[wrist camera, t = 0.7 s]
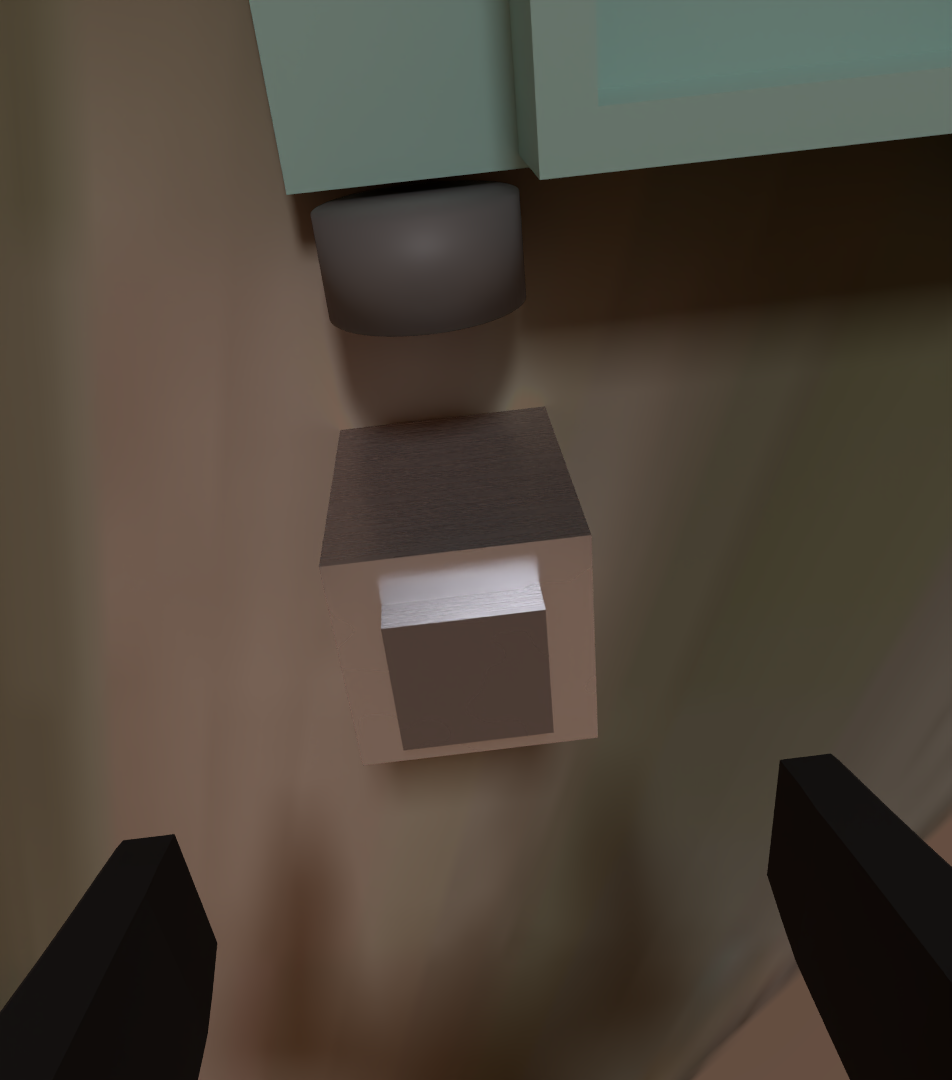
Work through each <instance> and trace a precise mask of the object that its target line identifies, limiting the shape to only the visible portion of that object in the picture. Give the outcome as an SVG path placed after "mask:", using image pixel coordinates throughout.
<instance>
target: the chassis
mask: <svg viewBox="0 0 952 1080" xmlns="http://www.w3.org/2000/svg"><path fill="white" fill-rule="evenodd" d="M249 3H250V8H251V13H252V18H253V23H254V28H255V34H256V39H257V44H258V49H259V54H260V59H261V65H262V70H263V75H264V80H265V85H266V90H267V96H268V101H269V106H270V111H271V116H272V121H273V127H274V132H275V137H276V142H277V147H278V152H279V158H280V163H281V168H282V173H283V178H284V183H285V189H286V194H287V195H289V194H298V193H307V192H316V191H325V190H334V189H343V188H352V187H360V186H369V185H378V184H387V183H396V182H405V181H414V180H423V179H431V178H440V177H449V176H458V175H467V174H476V173H485V172H493V171H502V170H511V169H520V168H530V169H531V170H532V171H533V172H534V174H535V175H536V176H537V177H538V178H539V180H544V179H553V178H562V177H571V176H579V175H588V174H597V173H606V172H615V171H624V170H633V169H641V168H650V167H659V166H668V165H677V164H686V163H695V162H703V161H712V160H721V159H730V158H739V157H748V156H757V155H765V154H774V153H783V152H792V151H801V150H810V149H819V148H827V147H836V146H845V145H854V144H863V143H872V142H881V141H889V140H898V139H907V138H916V137H925V136H934V135H942V134H951V133H952V0H249ZM311 220H312V225H313V231H314V236H315V242H316V247H317V253H318V258H319V264H320V269H321V275H322V280H323V286H324V291H325V297H326V302H327V308H328V313H329V319H330V321H331V323H332V324H333V325H334V326H336V327H338V328H339V329H342V330H345V331H348V332H352V333H356V334H362V335H370V336H387V337H395V336H418V335H429V334H437V333H444V332H450V331H455V330H460V329H465V328H469V327H473V326H477V325H481V324H484V323H487V322H490V321H493V320H496V319H498V318H501V317H503V316H505V315H507V314H509V313H511V312H513V311H514V310H516V309H517V308H519V307H520V306H521V305H522V304H523V303H524V301H525V299H526V287H525V272H524V257H523V241H522V226H521V211H520V196H519V189H518V188H517V187H516V186H513V185H511V184H507V183H502V182H494V181H475V180H463V181H440V182H427V183H417V184H408V185H400V186H394V187H387V188H381V189H375V190H370V191H365V192H361V193H356V194H352V195H348V196H344V197H341V198H338V199H335V200H332V201H329V202H326V203H324V204H322V205H320V206H318V207H316V208H315V209H313V210H312V212H311Z"/></svg>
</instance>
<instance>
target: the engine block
mask: <svg viewBox="0 0 952 1080" xmlns="http://www.w3.org/2000/svg"><path fill="white" fill-rule="evenodd" d="M319 570H320V574H321V579H322V583H323V588H324V592H325V597H326V601H327V606H328V610H329V615H330V619H331V624H332V628H333V633H334V637H335V642H336V646H337V651H338V655H339V660H340V664H341V669H342V674H343V678H344V683H345V687H346V692H347V696H348V701H349V705H350V710H351V714H352V719H353V723H354V728H355V732H356V737H357V741H358V746H359V750H360V755H361V759H362V764H363V766H364V765H372V764H380V763H389V762H397V761H405V760H414V759H422V758H430V757H439V756H447V755H455V754H464V753H472V752H480V751H489V750H497V749H505V748H514V747H522V746H530V745H539V744H547V743H555V742H564V741H572V740H580V739H589V738H597V737H598V726H597V695H596V663H595V632H594V601H593V569H592V538H591V533H590V530H589V527H588V524H587V521H586V519H585V516H584V513H583V510H582V508H581V505H580V502H579V499H578V496H577V494H576V491H575V488H574V485H573V483H572V480H571V477H570V474H569V472H568V469H567V466H566V463H565V460H564V458H563V455H562V452H561V449H560V447H559V444H558V441H557V438H556V435H555V433H554V430H553V427H552V424H551V422H550V419H549V416H548V413H547V411H546V408H545V406H544V407H536V408H527V409H518V410H510V411H501V412H492V413H484V414H475V415H467V416H458V417H449V418H441V419H432V420H423V421H415V422H406V423H397V424H389V425H380V426H372V427H363V428H354V429H346V430H340V435H339V441H338V448H337V454H336V461H335V467H334V474H333V480H332V486H331V493H330V499H329V506H328V512H327V519H326V525H325V531H324V538H323V544H322V551H321V557H320V564H319Z"/></svg>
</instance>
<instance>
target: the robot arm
mask: <svg viewBox="0 0 952 1080" xmlns="http://www.w3.org/2000/svg"><path fill="white" fill-rule="evenodd" d="M767 876H768V879H769V882H770V885H771V888H772V891H773V894H774V897H775V900H776V904H777V907H778V910H779V913H780V916H781V919H782V922H783V925H784V928H785V931H786V934H787V937H788V940H789V943H790V945H791V948H792V951H793V954H794V957H795V960H796V962H797V964H798V967H799V969H800V971H801V973H802V976H803V978H804V980H805V982H806V985H807V987H808V989H809V991H810V993H811V996H812V998H813V1000H814V1002H815V1004H816V1007H817V1009H818V1011H819V1013H820V1015H821V1017H822V1019H823V1022H824V1024H825V1026H826V1029H827V1031H828V1033H829V1035H830V1037H831V1039H832V1042H833V1044H834V1046H835V1048H836V1050H837V1052H838V1055H839V1057H840V1059H841V1061H842V1063H843V1065H844V1068H845V1070H846V1072H847V1074H848V1076H849V1079H850V1080H952V867H951V866H950V865H949V864H948V863H947V862H946V861H945V860H944V859H943V858H942V857H940V856H939V855H938V854H937V853H936V852H935V851H934V850H933V849H932V848H931V847H930V846H928V845H927V844H926V843H925V842H924V841H923V840H922V839H921V838H920V837H919V836H918V835H917V834H916V833H915V832H914V831H912V830H911V829H910V828H909V827H908V826H907V825H906V824H905V823H904V822H903V821H902V820H901V819H900V818H899V817H898V816H896V815H895V814H894V813H893V812H892V811H891V810H890V809H889V808H888V807H887V806H886V805H885V804H884V803H883V802H882V801H881V800H880V799H879V798H878V797H877V796H876V795H875V794H873V793H872V792H871V791H870V790H869V789H868V788H867V787H866V786H865V785H864V784H863V783H862V782H861V781H860V780H859V779H858V778H857V777H856V776H855V775H854V774H853V773H852V772H851V771H850V770H849V769H848V768H846V767H845V766H844V765H843V764H842V763H841V762H840V761H839V760H838V759H837V758H836V757H834V756H833V755H832V754H824V755H816V756H808V757H800V758H792V759H784V760H780V764H779V773H778V782H777V791H776V800H775V809H774V818H773V827H772V836H771V845H770V854H769V863H768V872H767ZM216 951H217V941H216V938H215V936H214V933H213V931H212V928H211V926H210V923H209V921H208V918H207V916H206V913H205V910H204V908H203V905H202V903H201V900H200V898H199V895H198V893H197V890H196V888H195V885H194V882H193V880H192V877H191V875H190V872H189V870H188V867H187V865H186V862H185V860H184V857H183V854H182V852H181V849H180V847H179V844H178V842H177V839H176V837H175V834H172V835H164V836H156V837H148V838H139V839H131V840H123V841H122V842H121V844H120V845H119V846H118V847H117V848H116V850H115V851H114V852H113V854H112V855H111V857H110V858H109V860H108V861H107V862H106V864H105V865H104V867H103V868H102V870H101V871H100V872H99V874H98V875H97V877H96V878H95V880H94V881H93V883H92V884H91V886H90V887H89V888H88V890H87V891H86V893H85V894H84V896H83V897H82V899H81V900H80V901H79V903H78V904H77V906H76V907H75V909H74V910H73V912H72V913H71V914H70V916H69V917H68V919H67V920H66V922H65V923H64V924H63V926H62V927H61V929H60V930H59V931H58V933H57V934H56V936H55V937H54V939H53V940H52V941H51V943H50V944H49V946H48V947H47V949H46V950H45V951H44V953H43V954H42V956H41V957H40V958H39V960H38V961H37V963H36V964H35V965H34V967H33V968H32V969H31V971H30V972H29V973H28V975H27V976H26V978H25V979H24V980H23V982H22V983H21V984H20V986H19V987H18V988H17V990H16V991H15V993H14V994H13V995H12V997H11V998H10V999H9V1001H8V1002H7V1003H6V1005H5V1006H4V1008H3V1009H2V1010H1V1012H0V1080H198V1077H199V1072H200V1067H201V1063H202V1058H203V1053H204V1049H205V1044H206V1039H207V1034H208V1026H209V1018H210V1009H211V1001H212V992H213V982H214V972H215V961H216Z"/></svg>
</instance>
